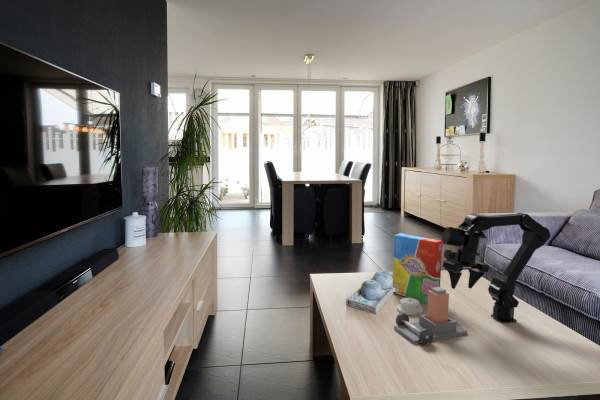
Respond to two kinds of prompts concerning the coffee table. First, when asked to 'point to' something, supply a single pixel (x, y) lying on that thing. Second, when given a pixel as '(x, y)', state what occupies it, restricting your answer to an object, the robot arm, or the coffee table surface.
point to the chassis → (426, 329)
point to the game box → (416, 266)
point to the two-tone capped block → (438, 305)
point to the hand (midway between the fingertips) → (461, 288)
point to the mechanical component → (409, 306)
